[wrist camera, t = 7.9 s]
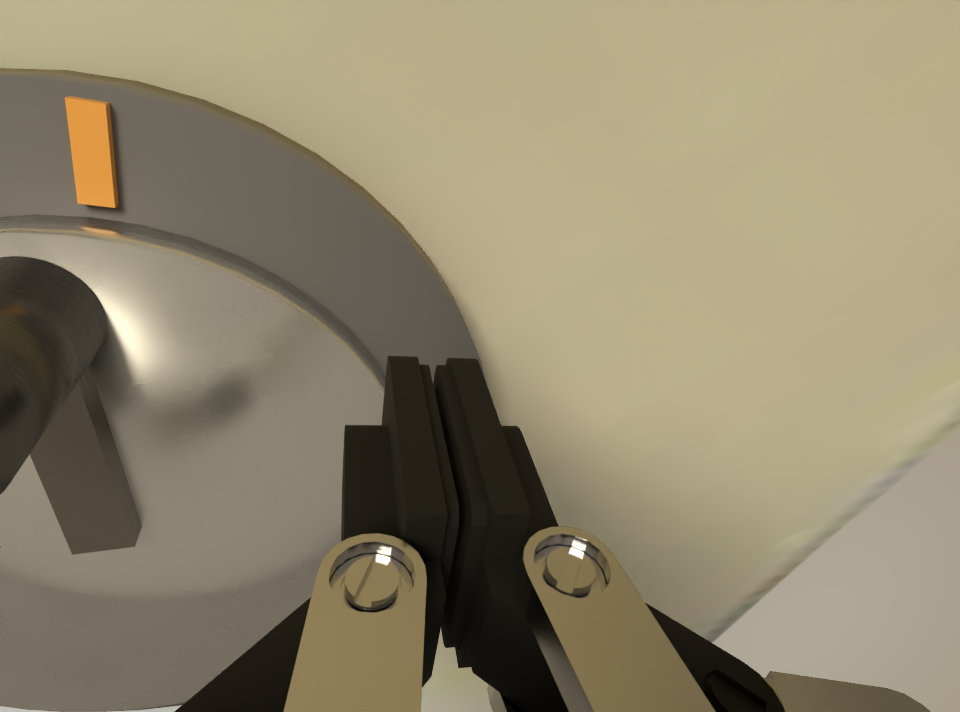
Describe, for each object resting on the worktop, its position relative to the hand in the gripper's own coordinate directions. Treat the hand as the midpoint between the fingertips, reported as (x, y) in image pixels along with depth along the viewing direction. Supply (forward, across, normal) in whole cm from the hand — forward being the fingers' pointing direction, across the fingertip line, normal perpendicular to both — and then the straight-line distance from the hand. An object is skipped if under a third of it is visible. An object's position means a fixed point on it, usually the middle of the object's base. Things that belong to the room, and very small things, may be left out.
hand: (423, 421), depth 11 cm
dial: (+6, +8, +8) cm, 13 cm away
